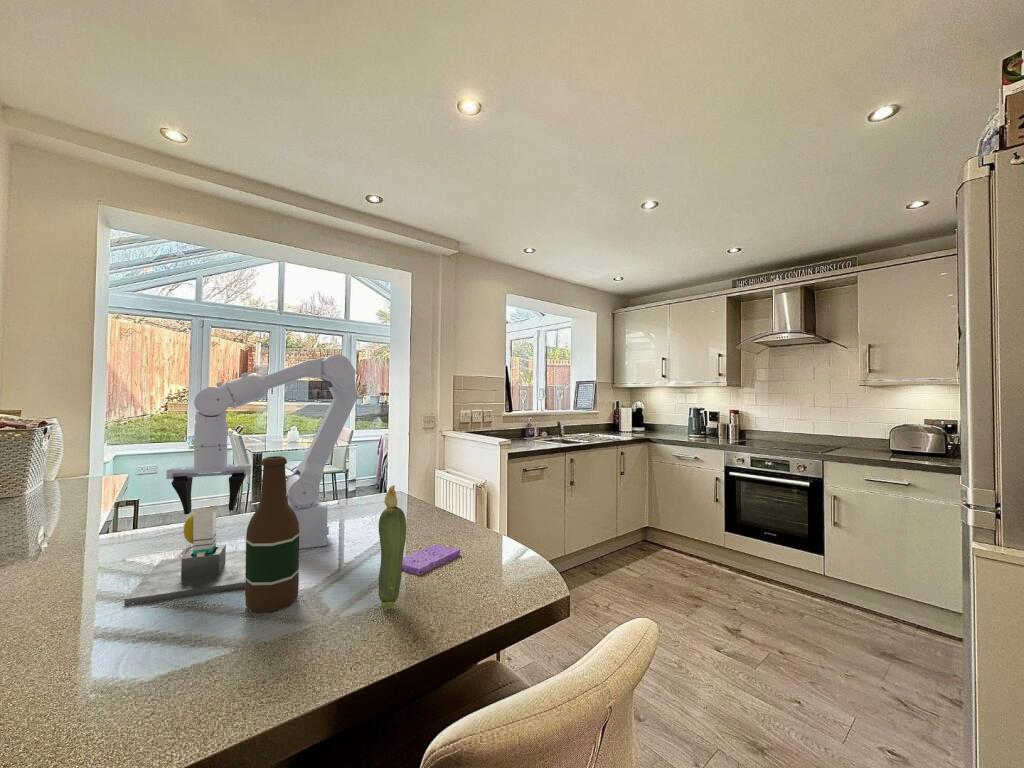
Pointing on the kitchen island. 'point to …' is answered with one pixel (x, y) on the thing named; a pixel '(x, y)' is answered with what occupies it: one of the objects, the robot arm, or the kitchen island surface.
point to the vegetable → (391, 550)
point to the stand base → (192, 576)
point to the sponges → (428, 558)
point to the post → (204, 531)
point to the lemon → (189, 529)
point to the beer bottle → (272, 545)
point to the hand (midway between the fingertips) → (210, 511)
